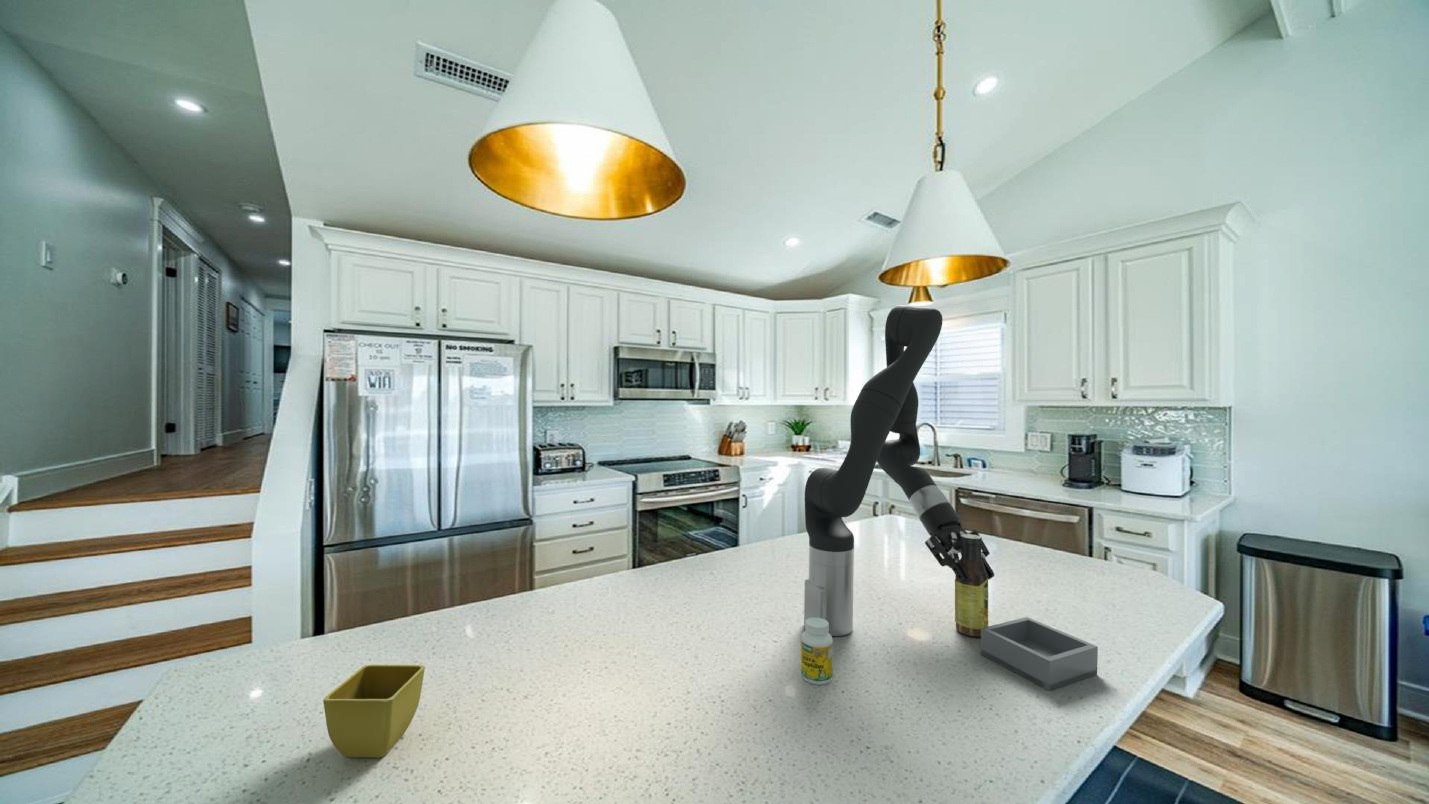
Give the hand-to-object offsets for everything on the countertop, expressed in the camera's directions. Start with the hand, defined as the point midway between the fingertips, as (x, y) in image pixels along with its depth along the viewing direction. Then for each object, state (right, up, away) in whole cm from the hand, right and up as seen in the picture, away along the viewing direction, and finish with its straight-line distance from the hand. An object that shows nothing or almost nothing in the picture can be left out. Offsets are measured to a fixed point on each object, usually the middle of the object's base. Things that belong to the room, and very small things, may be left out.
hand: (979, 580), depth 105 cm
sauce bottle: (-1, -11, +2) cm, 12 cm away
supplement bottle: (-37, -11, -16) cm, 42 cm away
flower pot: (-101, -11, -35) cm, 107 cm away
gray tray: (+5, -12, -11) cm, 17 cm away
